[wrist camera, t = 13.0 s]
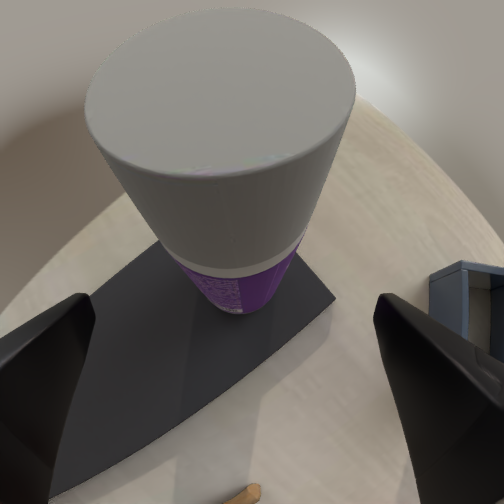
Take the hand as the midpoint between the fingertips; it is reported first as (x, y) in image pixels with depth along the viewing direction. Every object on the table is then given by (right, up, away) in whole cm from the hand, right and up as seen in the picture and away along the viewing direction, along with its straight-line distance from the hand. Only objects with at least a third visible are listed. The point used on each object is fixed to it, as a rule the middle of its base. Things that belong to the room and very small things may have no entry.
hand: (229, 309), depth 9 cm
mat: (-9, -6, +8) cm, 14 cm away
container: (0, 0, +10) cm, 10 cm away
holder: (+17, -4, +9) cm, 19 cm away
